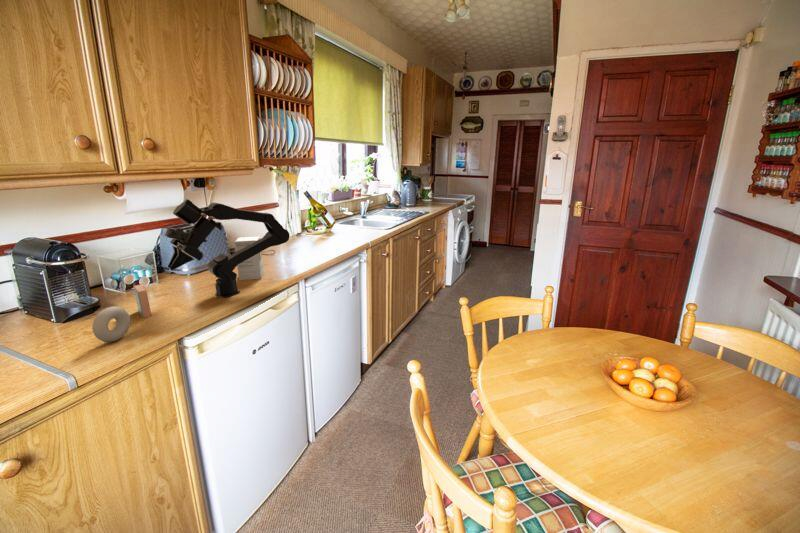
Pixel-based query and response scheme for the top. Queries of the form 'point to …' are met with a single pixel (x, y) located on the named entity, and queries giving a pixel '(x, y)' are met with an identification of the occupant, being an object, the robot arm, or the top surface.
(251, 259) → the supplement box
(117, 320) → the donut
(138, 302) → the terracotta tile
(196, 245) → the robot arm
